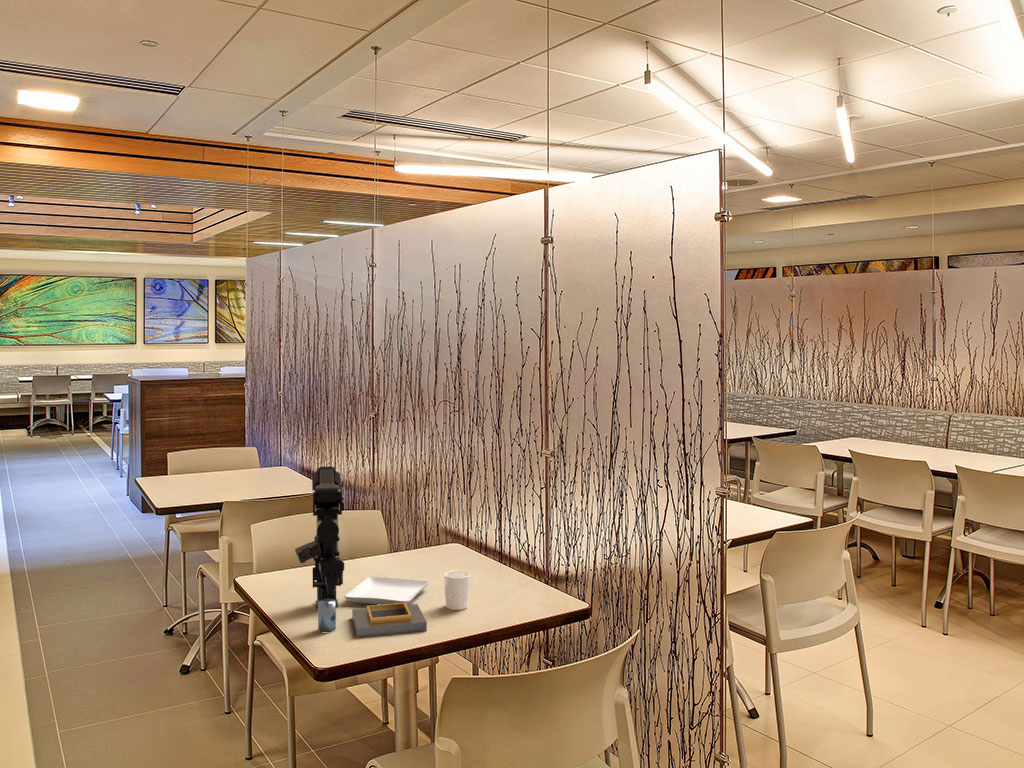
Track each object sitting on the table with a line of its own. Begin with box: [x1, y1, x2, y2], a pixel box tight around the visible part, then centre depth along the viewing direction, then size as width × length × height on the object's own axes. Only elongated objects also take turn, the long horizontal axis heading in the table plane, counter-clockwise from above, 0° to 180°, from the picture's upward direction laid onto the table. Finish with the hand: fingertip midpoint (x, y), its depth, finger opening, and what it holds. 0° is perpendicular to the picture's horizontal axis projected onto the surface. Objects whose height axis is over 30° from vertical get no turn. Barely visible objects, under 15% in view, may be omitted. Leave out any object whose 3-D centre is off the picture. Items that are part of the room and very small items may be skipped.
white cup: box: [443, 570, 471, 611], centre depth 235 cm, size 8×8×10 cm
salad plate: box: [343, 576, 430, 605], centre depth 244 cm, size 21×21×3 cm
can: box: [317, 599, 337, 633], centre depth 214 cm, size 5×5×8 cm
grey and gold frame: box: [351, 603, 428, 638], centre depth 219 cm, size 16×19×4 cm
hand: (327, 588), depth 214 cm, fingers open, 9 cm apart
